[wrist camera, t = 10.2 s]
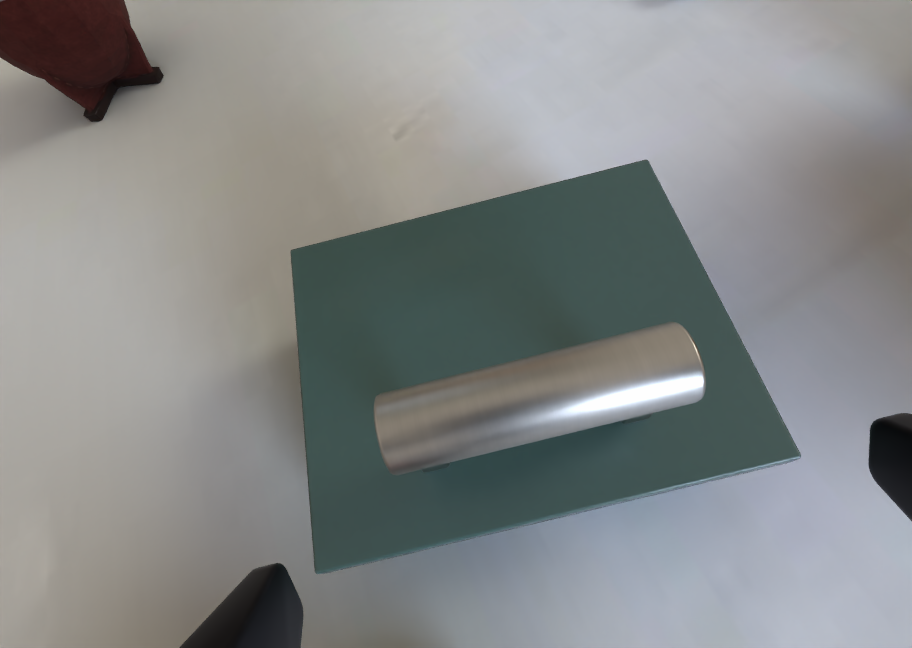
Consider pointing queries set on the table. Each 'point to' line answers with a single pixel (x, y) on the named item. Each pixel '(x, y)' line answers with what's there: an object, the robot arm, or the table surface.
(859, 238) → the table surface
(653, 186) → the lid
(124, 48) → the mate gourd
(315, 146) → the table surface
